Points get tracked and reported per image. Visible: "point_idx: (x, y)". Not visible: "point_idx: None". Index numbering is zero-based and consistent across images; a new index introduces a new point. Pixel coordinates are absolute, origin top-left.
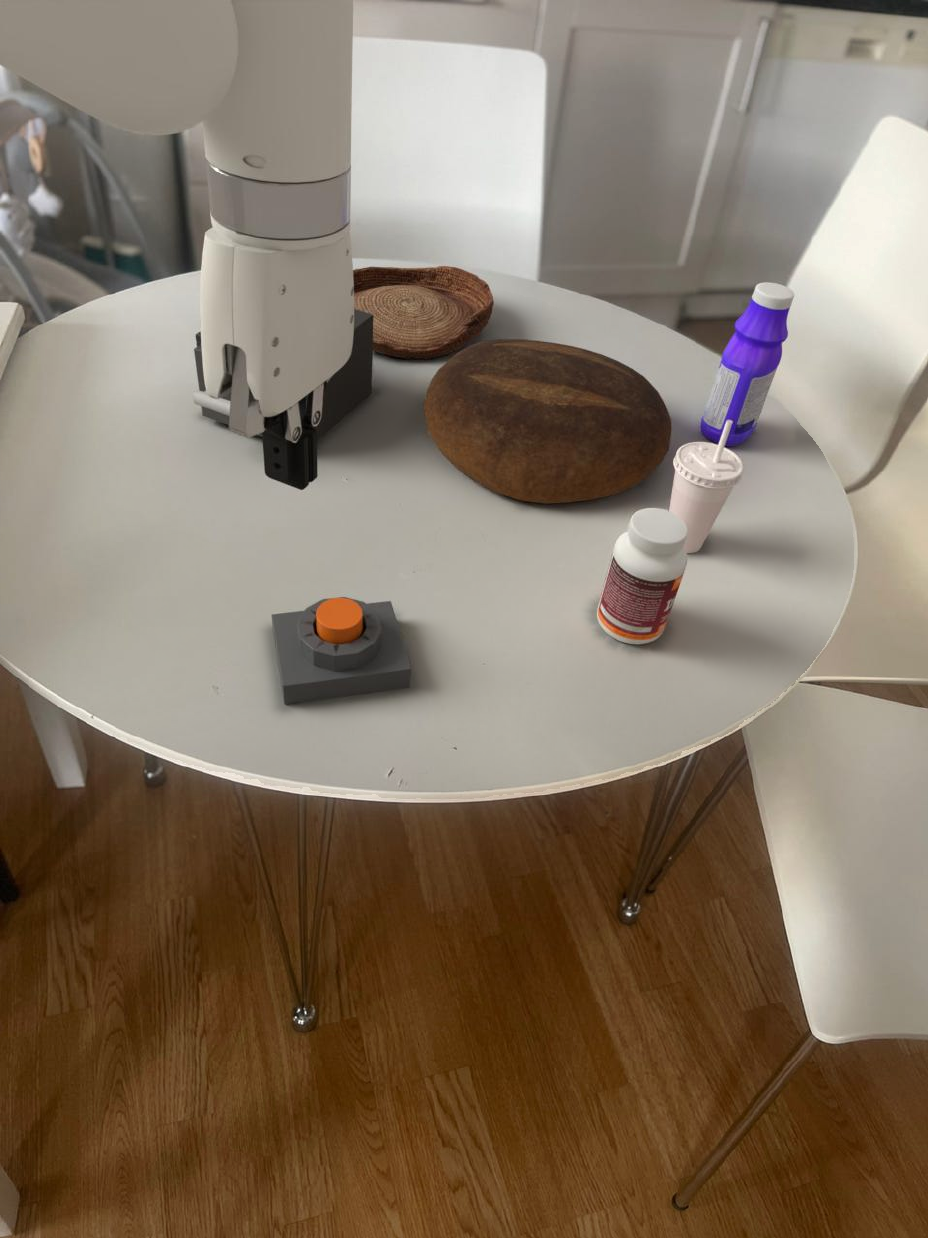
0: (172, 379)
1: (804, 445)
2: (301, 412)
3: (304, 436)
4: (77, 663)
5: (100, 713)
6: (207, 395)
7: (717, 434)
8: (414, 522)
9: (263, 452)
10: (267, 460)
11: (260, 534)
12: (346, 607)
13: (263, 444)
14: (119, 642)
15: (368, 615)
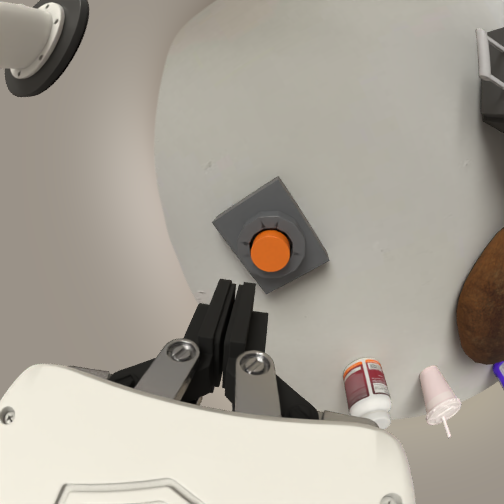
0: (495, 10)
1: (488, 386)
2: (233, 401)
3: (210, 390)
4: (188, 67)
5: (158, 111)
6: (485, 40)
7: (497, 365)
8: (434, 232)
9: (211, 300)
10: (194, 313)
11: (385, 116)
12: (278, 257)
13: (208, 310)
14: (218, 77)
15: (290, 264)
